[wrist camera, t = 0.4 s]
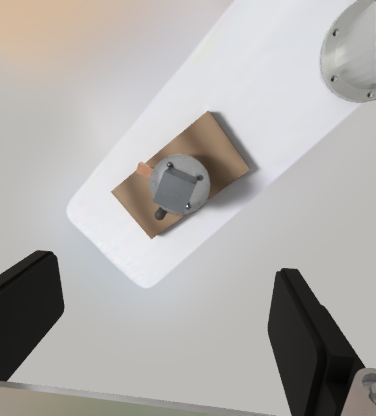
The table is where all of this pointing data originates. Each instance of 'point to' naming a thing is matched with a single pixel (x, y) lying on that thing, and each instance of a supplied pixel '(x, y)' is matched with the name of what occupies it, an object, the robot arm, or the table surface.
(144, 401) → the robot arm
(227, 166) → the base board
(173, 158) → the flange plate
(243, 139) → the table surface
